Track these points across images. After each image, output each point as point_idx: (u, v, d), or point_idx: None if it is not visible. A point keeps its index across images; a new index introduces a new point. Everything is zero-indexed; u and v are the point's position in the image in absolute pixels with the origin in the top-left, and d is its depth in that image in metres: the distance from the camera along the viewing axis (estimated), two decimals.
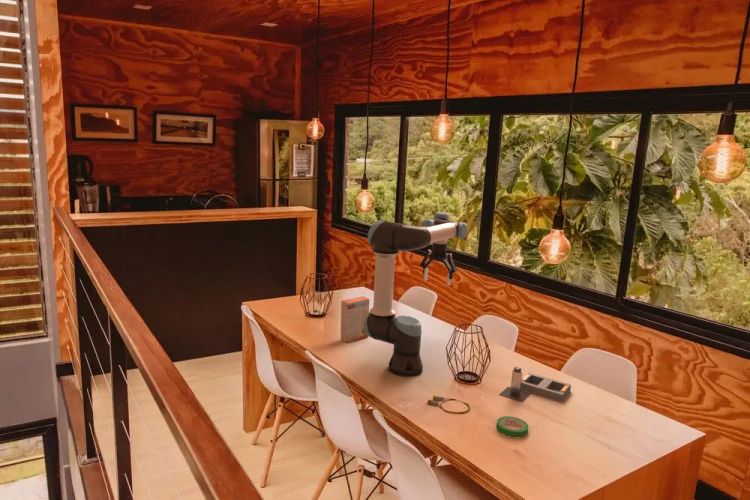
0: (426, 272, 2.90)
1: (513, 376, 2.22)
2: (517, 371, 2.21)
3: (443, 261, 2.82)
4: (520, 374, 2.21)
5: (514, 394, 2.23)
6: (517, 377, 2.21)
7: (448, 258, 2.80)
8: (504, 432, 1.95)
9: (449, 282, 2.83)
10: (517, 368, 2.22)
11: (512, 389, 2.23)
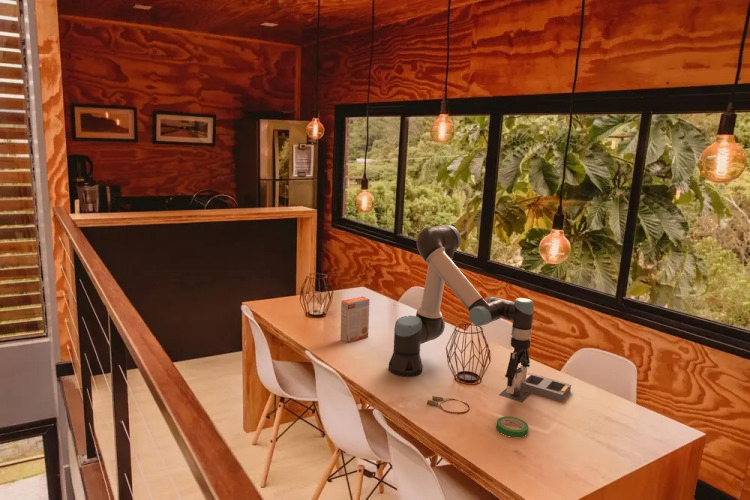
0: (522, 371, 2.28)
1: None
2: (517, 371, 2.21)
3: None
4: (520, 374, 2.21)
5: (514, 394, 2.23)
6: (517, 377, 2.21)
7: None
8: (504, 432, 1.95)
9: (509, 389, 2.18)
10: (517, 368, 2.22)
11: None
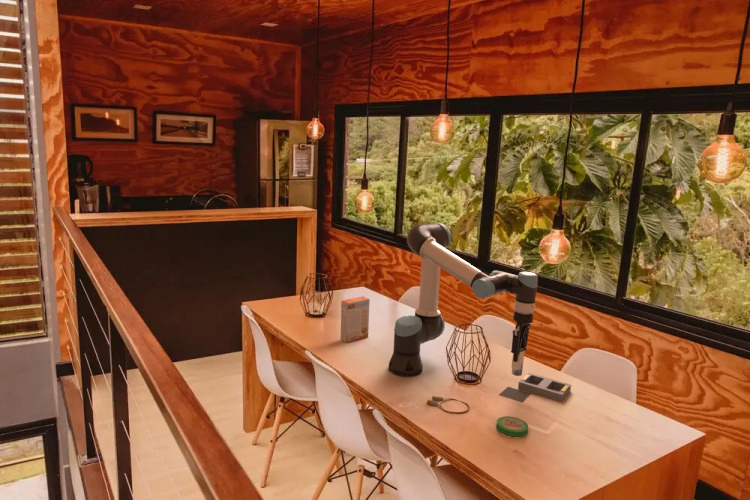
0: None
1: None
2: None
3: None
4: (522, 353, 2.19)
5: (516, 373, 2.21)
6: None
7: None
8: (504, 432, 1.95)
9: (514, 365, 2.20)
10: None
11: None
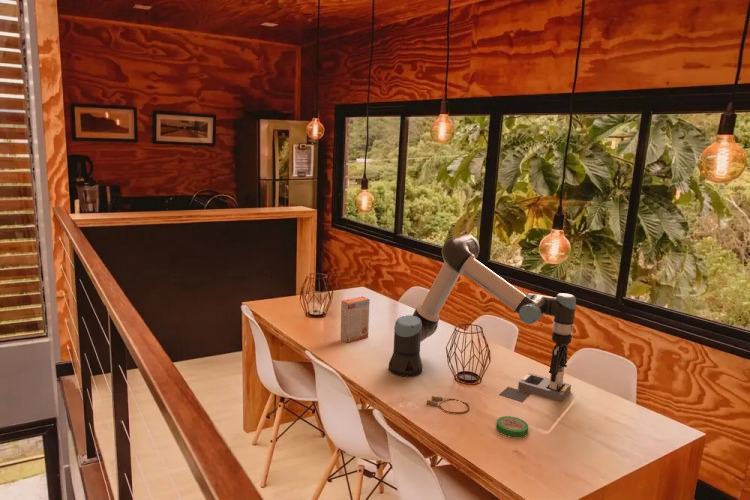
0: None
1: None
2: (558, 370, 2.24)
3: None
4: (561, 373, 2.24)
5: None
6: (558, 376, 2.24)
7: None
8: (504, 432, 1.95)
9: (552, 385, 2.23)
10: None
11: None
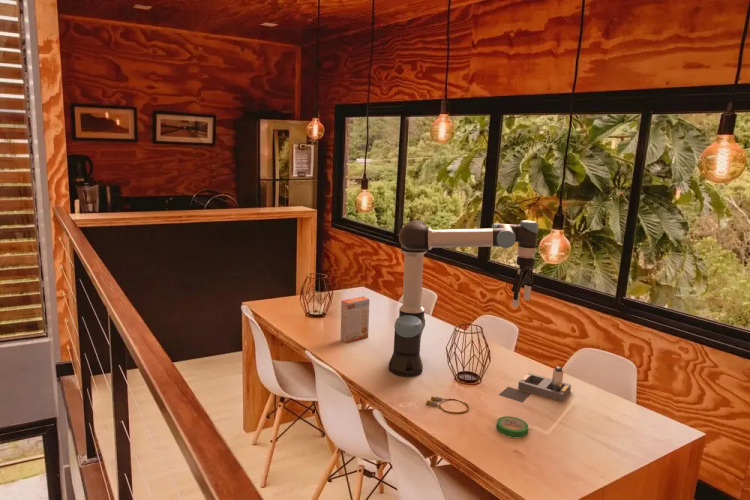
0: (526, 290, 2.49)
1: (554, 375, 2.25)
2: (558, 370, 2.24)
3: None
4: (561, 373, 2.24)
5: None
6: (558, 376, 2.24)
7: None
8: (504, 432, 1.95)
9: (515, 303, 2.38)
10: (558, 367, 2.25)
11: (553, 388, 2.26)
